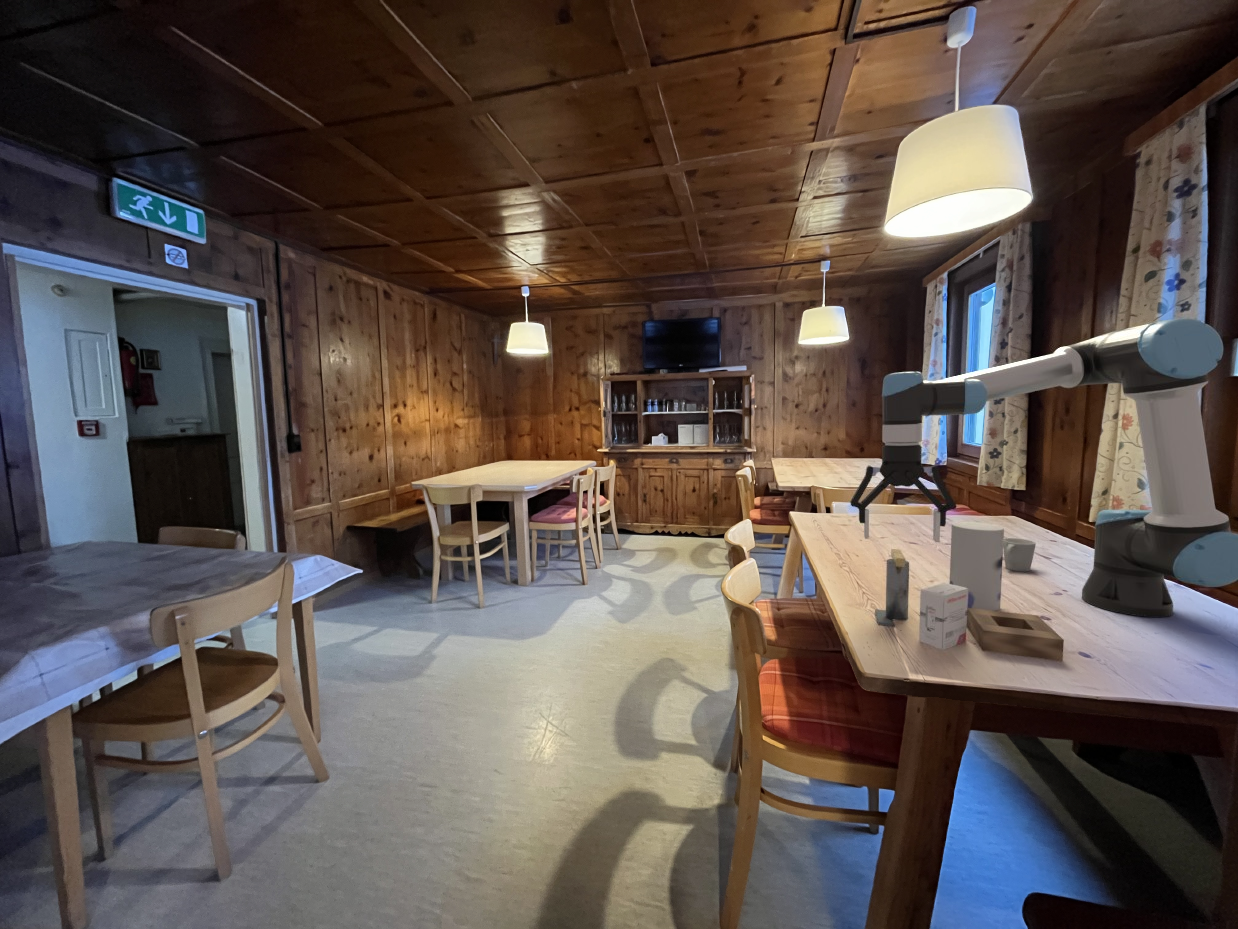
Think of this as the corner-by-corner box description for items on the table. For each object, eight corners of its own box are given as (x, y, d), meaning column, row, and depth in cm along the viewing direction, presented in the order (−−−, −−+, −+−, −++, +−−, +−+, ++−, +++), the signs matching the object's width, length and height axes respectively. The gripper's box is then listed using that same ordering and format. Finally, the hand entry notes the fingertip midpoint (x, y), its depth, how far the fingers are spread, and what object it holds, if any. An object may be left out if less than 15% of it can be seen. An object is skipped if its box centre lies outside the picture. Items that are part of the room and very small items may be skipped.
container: (1009, 616, 112) (1013, 530, 110) (960, 613, 114) (963, 529, 112) (986, 600, 122) (989, 521, 120) (941, 598, 124) (944, 520, 122)
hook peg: (910, 626, 106) (912, 559, 105) (887, 623, 108) (889, 557, 107) (905, 612, 114) (906, 550, 113) (883, 610, 116) (884, 548, 114)
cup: (1039, 570, 144) (1041, 542, 143) (1021, 575, 140) (1022, 546, 139) (1009, 564, 151) (1011, 536, 150) (991, 568, 147) (992, 540, 146)
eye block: (1036, 639, 100) (1037, 615, 100) (1062, 666, 89) (1063, 640, 89) (966, 630, 105) (967, 607, 105) (982, 655, 94) (983, 630, 94)
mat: (913, 616, 113) (914, 613, 113) (920, 630, 106) (920, 627, 106) (874, 611, 116) (875, 609, 116) (878, 624, 109) (878, 622, 109)
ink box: (942, 636, 103) (944, 580, 102) (967, 645, 99) (970, 587, 98) (917, 645, 99) (919, 588, 98) (942, 655, 95) (945, 595, 94)
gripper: (965, 441, 106) (963, 538, 108) (838, 444, 116) (838, 532, 118) (974, 443, 99) (972, 546, 101) (839, 445, 109) (839, 539, 111)
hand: (900, 539), depth 109 cm, fingers open, 13 cm apart
